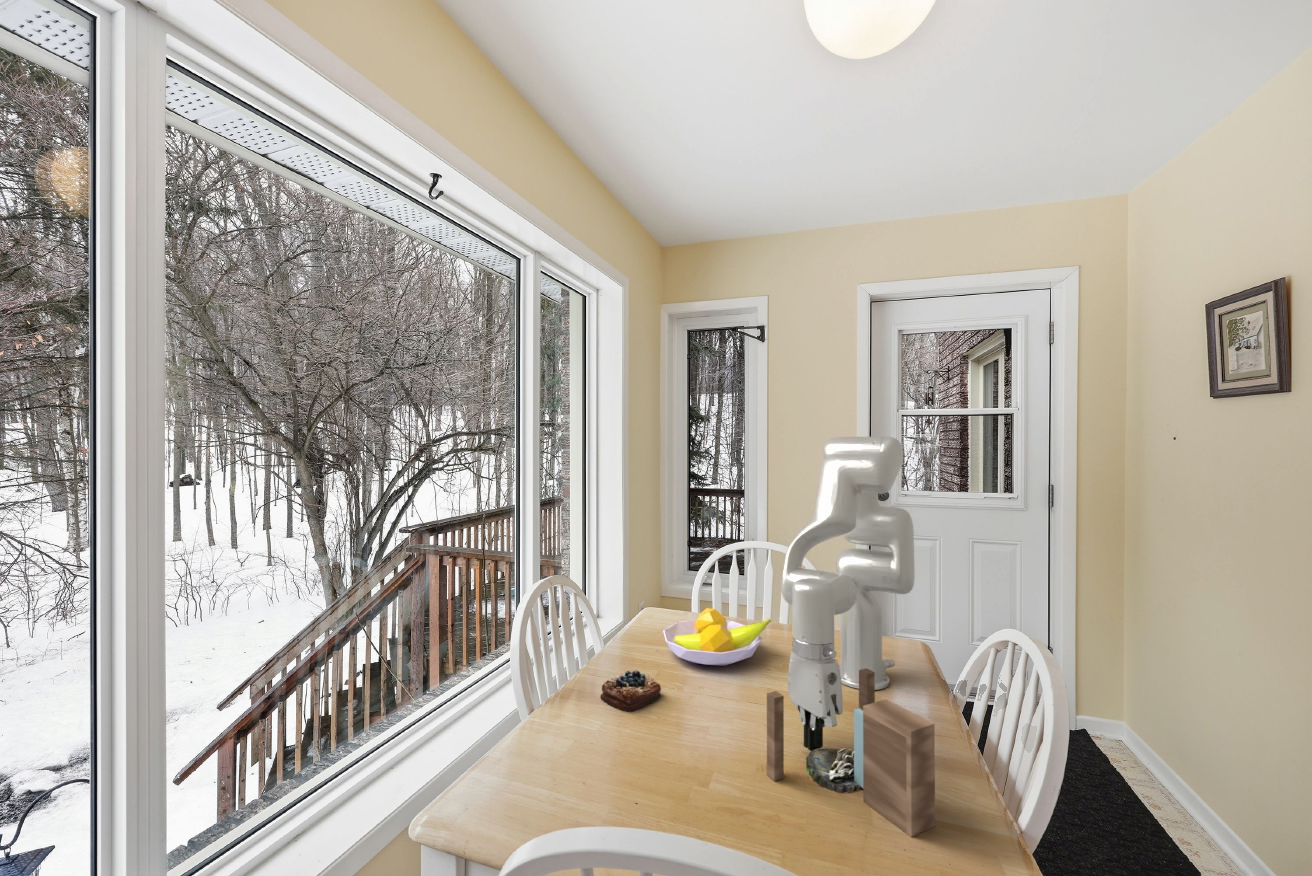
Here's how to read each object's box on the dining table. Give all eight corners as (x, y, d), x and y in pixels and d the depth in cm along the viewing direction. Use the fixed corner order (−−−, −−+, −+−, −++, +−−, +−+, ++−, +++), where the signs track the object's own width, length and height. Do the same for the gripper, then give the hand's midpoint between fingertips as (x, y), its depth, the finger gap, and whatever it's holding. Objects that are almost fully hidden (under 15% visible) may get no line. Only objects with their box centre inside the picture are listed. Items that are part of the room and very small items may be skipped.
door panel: (859, 779, 91) (859, 708, 91) (910, 816, 82) (910, 736, 83) (854, 781, 91) (853, 709, 91) (905, 818, 82) (905, 738, 82)
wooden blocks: (866, 741, 104) (866, 661, 104) (974, 807, 85) (973, 710, 85) (766, 775, 93) (766, 686, 94) (864, 859, 74) (864, 747, 75)
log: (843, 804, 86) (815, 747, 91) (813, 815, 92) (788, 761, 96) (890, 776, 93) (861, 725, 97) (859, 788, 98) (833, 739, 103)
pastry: (594, 700, 121) (594, 674, 121) (631, 683, 130) (631, 658, 130) (630, 717, 114) (630, 688, 114) (666, 697, 123) (666, 671, 123)
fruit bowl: (644, 662, 142) (644, 619, 142) (692, 632, 165) (692, 595, 165) (744, 688, 127) (744, 639, 127) (782, 651, 150) (782, 610, 150)
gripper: (859, 658, 96) (859, 762, 95) (800, 632, 109) (800, 724, 109) (827, 665, 92) (827, 774, 92) (771, 637, 105) (771, 732, 105)
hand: (813, 746), depth 100 cm, fingers closed
